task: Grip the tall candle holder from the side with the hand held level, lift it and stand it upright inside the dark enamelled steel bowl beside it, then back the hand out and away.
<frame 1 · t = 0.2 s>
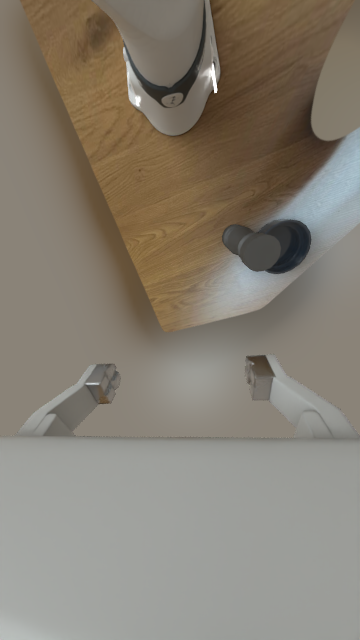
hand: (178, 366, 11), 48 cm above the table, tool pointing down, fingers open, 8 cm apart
candle holder: (233, 236, 50), on the table
bowl: (274, 245, 50), on the table
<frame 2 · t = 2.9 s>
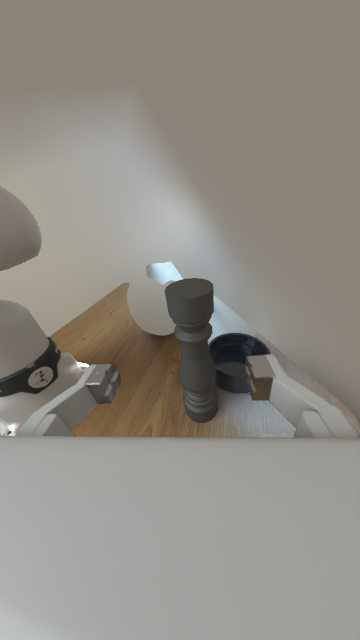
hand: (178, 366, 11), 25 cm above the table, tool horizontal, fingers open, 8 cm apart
candle holder: (200, 406, 34), on the table
bowl: (235, 369, 41), on the table
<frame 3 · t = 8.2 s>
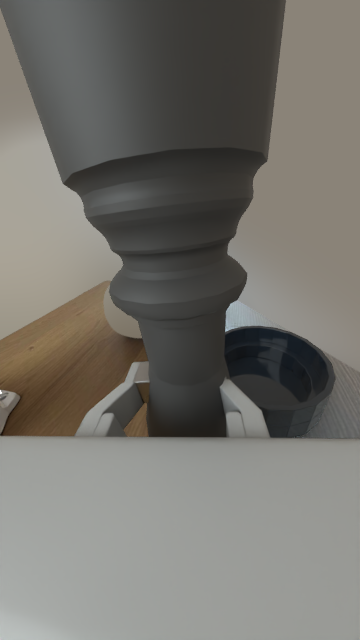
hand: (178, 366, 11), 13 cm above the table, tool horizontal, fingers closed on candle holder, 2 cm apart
candle holder: (199, 472, 17), on the table, touching gripper
bowl: (258, 387, 23), on the table
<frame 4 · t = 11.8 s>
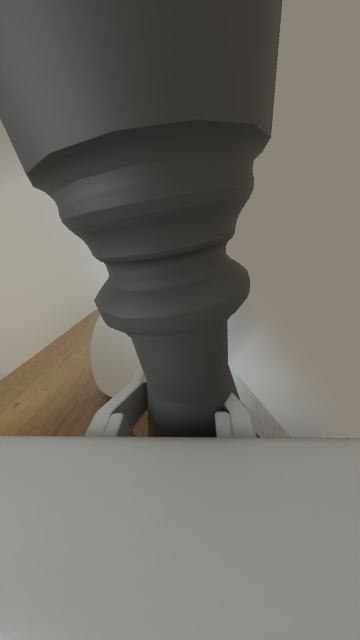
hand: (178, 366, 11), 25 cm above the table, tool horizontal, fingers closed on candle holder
candle holder: (207, 485, 16), point 12 cm above the table, touching gripper
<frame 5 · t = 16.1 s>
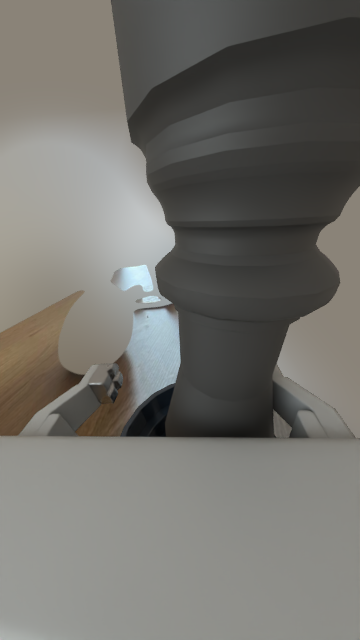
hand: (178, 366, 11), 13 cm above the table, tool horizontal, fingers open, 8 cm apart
candle holder: (208, 486, 15), point 1 cm above the table, touching bowl
bowl: (199, 473, 17), on the table
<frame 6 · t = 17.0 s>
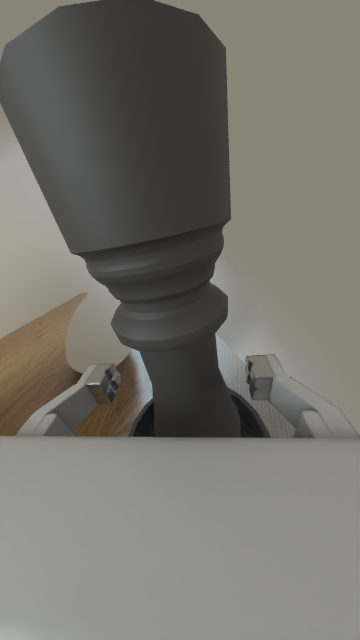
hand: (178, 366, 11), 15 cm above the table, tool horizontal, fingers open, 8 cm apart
candle holder: (209, 476, 17), point 1 cm above the table, touching bowl
bowl: (200, 464, 19), on the table
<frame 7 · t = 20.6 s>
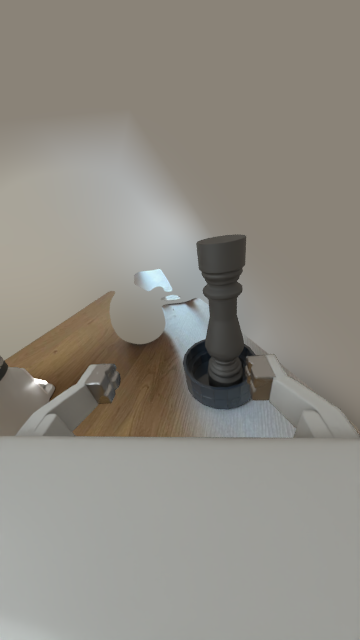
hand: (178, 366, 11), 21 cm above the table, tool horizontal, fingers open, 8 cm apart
candle holder: (225, 382, 33), resting on bowl
bowl: (219, 379, 35), on the table
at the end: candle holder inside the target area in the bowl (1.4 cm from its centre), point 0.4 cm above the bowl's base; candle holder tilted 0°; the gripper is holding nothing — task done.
